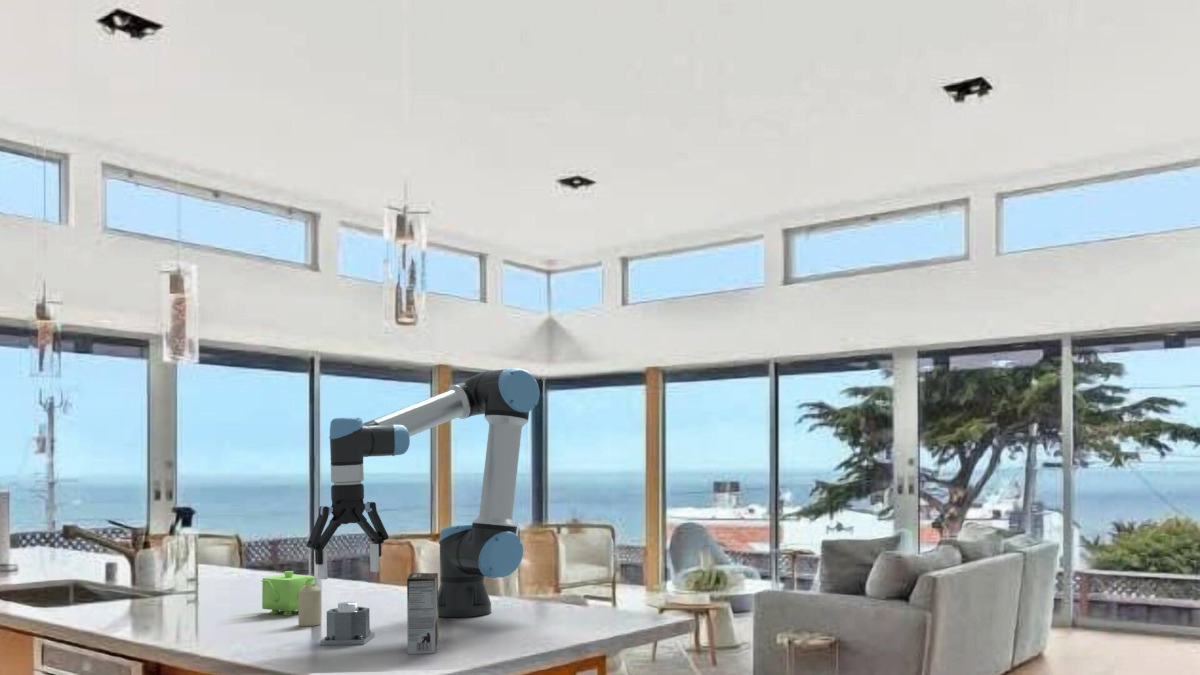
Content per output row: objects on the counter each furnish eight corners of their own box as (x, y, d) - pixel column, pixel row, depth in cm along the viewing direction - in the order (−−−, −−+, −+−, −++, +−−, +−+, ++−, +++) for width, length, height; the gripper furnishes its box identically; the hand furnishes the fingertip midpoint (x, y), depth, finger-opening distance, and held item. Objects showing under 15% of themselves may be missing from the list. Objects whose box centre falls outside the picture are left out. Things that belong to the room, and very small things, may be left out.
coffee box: (410, 646, 241) (409, 573, 243) (439, 645, 242) (438, 572, 243) (406, 654, 232) (405, 578, 234) (436, 653, 233) (436, 577, 234)
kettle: (315, 615, 290) (315, 572, 291) (260, 619, 286) (260, 576, 287) (315, 607, 304) (315, 566, 305) (263, 610, 301) (263, 569, 302)
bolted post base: (374, 636, 255) (374, 599, 256) (364, 644, 245) (364, 606, 246) (332, 637, 255) (332, 600, 256) (320, 645, 245) (320, 607, 246)
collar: (375, 635, 250) (375, 609, 251) (340, 641, 244) (340, 614, 245) (351, 630, 258) (351, 605, 258) (317, 636, 252) (317, 609, 252)
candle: (314, 626, 271) (314, 586, 272) (294, 626, 272) (294, 586, 273) (324, 622, 277) (324, 583, 278) (304, 622, 278) (304, 583, 279)
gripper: (384, 479, 265) (386, 567, 263) (290, 486, 248) (292, 580, 246) (401, 480, 260) (403, 569, 258) (306, 487, 242) (308, 583, 241)
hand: (349, 575), depth 252 cm, fingers open, 13 cm apart
